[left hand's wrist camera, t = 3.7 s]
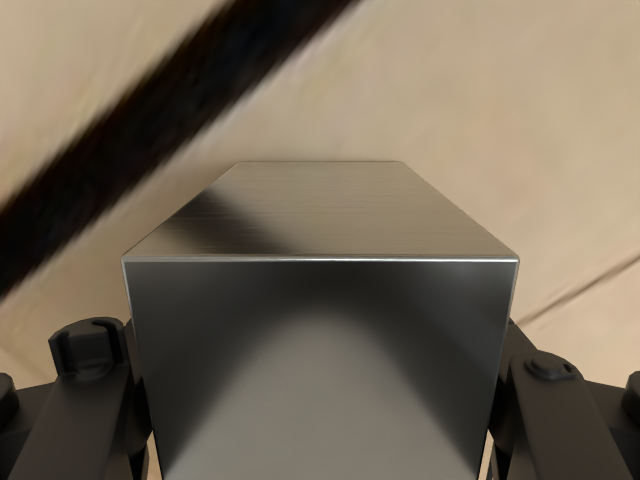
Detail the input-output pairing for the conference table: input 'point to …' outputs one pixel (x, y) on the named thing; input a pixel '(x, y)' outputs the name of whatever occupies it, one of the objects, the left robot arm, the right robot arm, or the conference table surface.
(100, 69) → the conference table surface
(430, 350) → the box
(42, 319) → the conference table surface
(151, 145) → the conference table surface
